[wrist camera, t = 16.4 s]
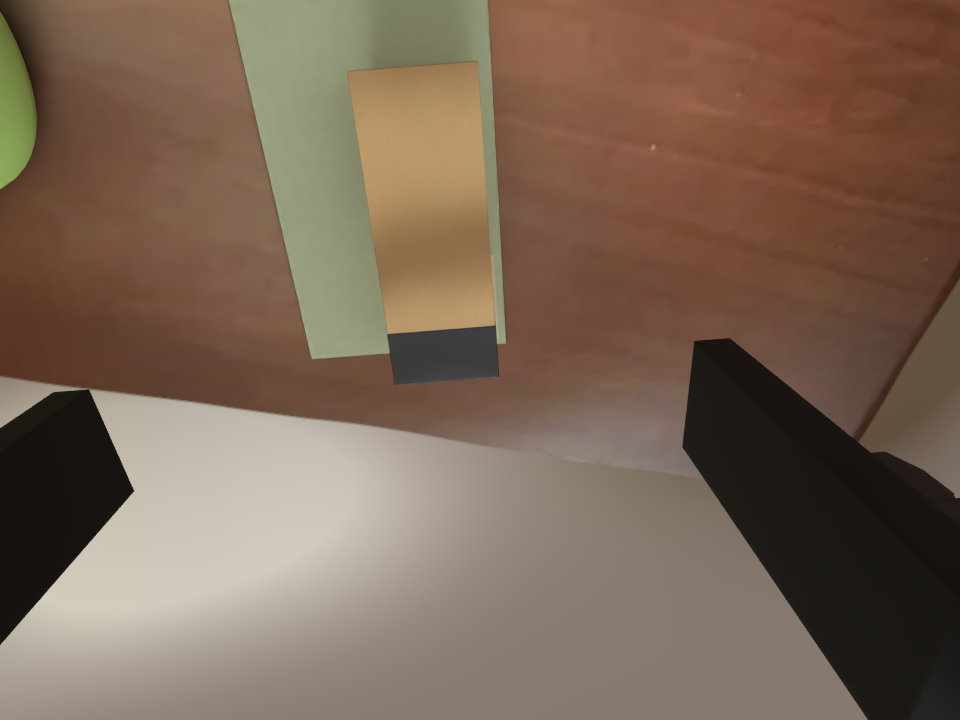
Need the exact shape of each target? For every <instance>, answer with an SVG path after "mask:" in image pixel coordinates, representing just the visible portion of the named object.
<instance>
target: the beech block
mask: <svg viewBox="0 0 960 720" xmlns="http://www.w3.org/2000/svg"><path fill="white" fill-rule="evenodd" d="M347 76H348V82H349V88H350V95H351V101H352V108H353V114H354V120H355V127H356V133H357V140H358V146H359V152H360V159H361V165H362V172H363V178H364V184H365V191H366V197H367V204H368V210H369V216H370V223H371V229H372V236H373V242H374V248H375V255H376V261H377V268H378V274H379V280H380V287H381V293H382V300H383V306H384V312H385V319H386V325H387V332H388V334H387V338H388V345H389V351H390V357H391V364H392V370H393V377H394V383H395V385H405V384H418V383H430V382H442V381H455V380H467V379H479V378H492V377H499V367H498V351H497V335H496V324H495V318H494V302H493V286H492V271H491V255H490V239H489V223H488V208H487V192H486V176H485V160H484V145H483V129H482V113H481V97H480V81H479V66H478V61H468V62H455V63H443V64H430V65H417V66H404V67H391V68H379V69H366V70H353V71H347Z"/></svg>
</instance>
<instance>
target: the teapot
mask: <svg viewBox="0 0 960 720" xmlns="http://www.w3.org/2000/svg"><path fill="white" fill-rule="evenodd" d="M36 131H37V113H36V103H35V98H34V94H33V90H32V85H31V81H30V78H29V75H28V72H27V69H26V65H25V62H24V60H23V57H22V55H21V52H20V50H19V47H18V45H17V42H16V40H15V38H14V36H13V34H12V32H11V30H10V28H9V26H8V24H7V22H6V21H5V19H4V17H3V15H2V14H1V12H0V189H1V188H3V187H4V186H6V185H7V184H8V183H10V182H11V181H13V180H14V179H15V178H16V177H17V176H18V175H19V174H20V173H21V172H22V170H23V169H24V168H25V167H26V165H27V163H28V161H29V159H30V157H31V154H32V150H33V147H34V143H35V140H36Z"/></svg>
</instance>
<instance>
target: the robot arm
mask: <svg viewBox="0 0 960 720" xmlns="http://www.w3.org/2000/svg"><path fill="white" fill-rule="evenodd" d="M682 447H683V448H684V450H685V451H686V453H687V454H688V456H689V457H690V459H691V460H692V462H693V463H694V465H695V466H696V468H697V469H698V471H699V472H700V473H701V475H702V476H703V478H704V479H705V481H706V482H707V484H708V485H709V487H710V488H711V490H712V491H713V493H714V494H715V495H716V497H717V498H718V500H719V501H720V503H721V504H722V506H723V507H724V509H725V510H726V512H727V513H728V515H729V516H730V517H731V519H732V520H733V522H734V523H735V525H736V526H737V528H738V529H739V531H740V532H741V534H742V535H743V537H744V538H745V540H746V541H747V543H748V544H749V545H750V547H751V548H752V550H753V551H754V553H755V554H756V556H757V557H758V558H759V560H760V562H761V563H762V565H763V566H764V567H765V569H766V570H767V572H768V573H769V575H770V576H771V578H772V579H773V581H774V582H775V584H776V585H777V586H778V588H779V590H780V591H781V592H782V594H783V595H784V597H785V598H786V600H787V601H788V603H789V604H790V605H791V607H792V609H793V610H794V611H795V613H796V614H797V616H798V617H799V619H800V620H801V622H802V623H803V625H804V626H805V628H806V629H807V631H808V632H809V634H810V635H811V637H812V638H813V640H814V641H815V642H816V644H817V645H818V647H819V648H820V650H821V651H822V653H823V654H824V656H825V657H826V659H827V660H828V662H829V663H830V664H831V666H832V667H833V669H834V670H835V672H836V673H837V675H838V676H839V678H840V679H841V681H842V682H843V684H844V685H845V686H846V688H847V689H848V691H849V692H850V694H851V695H852V697H853V698H854V700H855V701H856V703H857V704H858V705H859V707H860V709H861V710H862V712H863V713H864V714H865V716H866V717H867V719H868V720H960V498H955V497H954V493H953V492H951V491H950V490H949V489H948V488H946V487H945V486H944V485H942V484H941V483H939V482H938V481H937V480H936V479H934V478H933V477H931V476H930V475H929V474H928V473H926V472H925V471H924V470H922V469H920V468H918V467H916V466H914V465H912V464H909V463H907V462H905V461H903V460H901V459H899V458H897V457H895V456H893V455H891V454H889V453H887V452H876V453H870V452H869V451H868V450H867V449H865V448H864V447H863V446H862V445H861V444H859V443H858V442H857V441H856V440H854V439H853V438H852V437H851V436H849V435H848V434H847V433H846V432H845V431H843V430H842V429H841V428H840V427H838V426H837V425H836V424H835V423H833V422H832V421H831V420H830V419H829V418H827V417H826V416H825V415H824V414H822V413H821V412H820V411H819V410H817V409H816V408H815V407H814V406H813V405H811V404H810V403H809V402H808V401H806V400H805V399H804V398H803V397H801V396H800V395H799V394H798V393H797V392H795V391H794V390H793V389H792V388H790V387H789V386H788V385H787V384H785V383H784V382H783V381H782V380H780V379H779V378H778V377H777V376H776V375H774V374H773V373H772V372H771V371H769V370H768V369H767V368H766V367H764V366H763V365H762V364H761V363H760V362H758V361H757V360H756V359H755V358H753V357H752V356H751V355H750V354H748V353H747V352H746V351H745V350H744V349H742V348H741V347H740V346H739V345H737V344H736V343H735V342H734V341H732V340H731V339H730V338H726V339H713V340H701V341H694V349H693V358H692V367H691V376H690V384H689V393H688V402H687V411H686V420H685V428H684V437H683V446H682ZM133 492H134V490H133V487H132V486H131V483H130V481H129V478H128V476H127V474H126V472H125V469H124V467H123V465H122V463H121V460H120V458H119V456H118V454H117V451H116V450H115V447H114V445H113V443H112V440H111V438H110V436H109V433H108V431H107V429H106V427H105V425H104V422H103V420H102V418H101V415H100V413H99V411H98V409H97V406H96V404H95V402H94V400H93V398H92V395H91V393H90V391H89V389H88V390H76V391H64V392H54V393H52V394H50V395H49V396H47V397H46V398H44V399H43V400H41V401H40V402H38V403H37V404H35V405H34V406H32V407H31V408H30V409H28V410H27V411H25V412H24V413H22V414H21V415H19V416H18V417H16V418H15V419H13V420H12V421H10V422H9V423H7V424H6V425H4V426H3V427H1V428H0V645H1V643H2V642H3V641H4V640H5V639H6V638H7V637H8V635H9V634H10V633H11V632H12V631H13V630H14V628H15V627H16V626H17V625H18V624H19V623H20V622H21V620H22V619H23V618H24V617H25V616H26V615H27V613H28V612H29V611H30V610H31V609H32V608H33V607H34V605H35V604H36V603H37V602H38V601H39V600H40V599H41V598H42V596H43V595H44V594H45V593H46V592H47V591H48V589H49V588H50V587H51V586H52V585H53V584H54V583H55V581H56V580H57V579H58V578H59V577H60V576H61V575H62V573H63V572H64V571H65V570H66V569H67V568H68V566H69V565H70V564H71V563H72V562H73V561H74V560H75V558H76V557H77V556H78V555H79V554H80V553H81V551H82V550H83V549H84V548H85V547H86V546H87V545H88V544H89V542H90V541H91V540H92V539H93V538H94V537H95V536H96V534H97V533H98V532H99V531H100V530H101V528H102V527H103V526H104V525H105V524H106V523H107V522H108V521H109V519H110V518H111V517H112V516H113V515H114V514H115V513H116V511H117V510H118V509H119V508H120V507H121V505H123V503H124V502H125V501H126V500H127V499H128V498H129V496H130V495H131V494H132V493H133Z"/></svg>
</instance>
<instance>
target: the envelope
mask: <svg viewBox="0 0 960 720" xmlns="http://www.w3.org/2000/svg"><path fill="white" fill-rule="evenodd" d="M229 4H230V8H231V13H232V17H233V21H234V26H235V30H236V34H237V39H238V43H239V47H240V51H241V56H242V60H243V64H244V69H245V73H246V77H247V82H248V86H249V90H250V95H251V99H252V103H253V108H254V112H255V116H256V121H257V125H258V129H259V134H260V138H261V142H262V147H263V151H264V155H265V160H266V164H267V168H268V173H269V177H270V181H271V186H272V190H273V194H274V199H275V203H276V207H277V211H278V216H279V220H280V224H281V229H282V233H283V237H284V242H285V246H286V250H287V255H288V259H289V263H290V268H291V272H292V276H293V281H294V285H295V289H296V294H297V298H298V302H299V307H300V311H301V315H302V320H303V324H304V328H305V333H306V337H307V341H308V346H309V350H310V354H311V359H321V358H333V357H346V356H358V355H370V354H383V353H390V351H389V345H388V338H387V334H388V332H387V325H386V319H385V312H384V306H383V300H382V293H381V287H380V280H379V274H378V268H377V261H376V255H375V248H374V242H373V236H372V229H371V223H370V216H369V210H368V204H367V197H366V191H365V184H364V178H363V172H362V165H361V159H360V152H359V146H358V140H357V133H356V127H355V120H354V114H353V108H352V101H351V95H350V88H349V82H348V76H347V71H353V70H366V69H379V68H391V67H404V66H417V65H430V64H443V63H455V62H468V61H478V66H479V81H480V97H481V113H482V129H483V145H484V160H485V176H486V192H487V208H488V223H489V239H490V255H491V271H492V286H493V302H494V318H495V324H496V335H497V344H506V333H505V314H504V296H503V277H502V259H501V240H500V221H499V203H498V184H497V166H496V147H495V128H494V110H493V91H492V73H491V54H490V36H489V17H488V0H229Z"/></svg>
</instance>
